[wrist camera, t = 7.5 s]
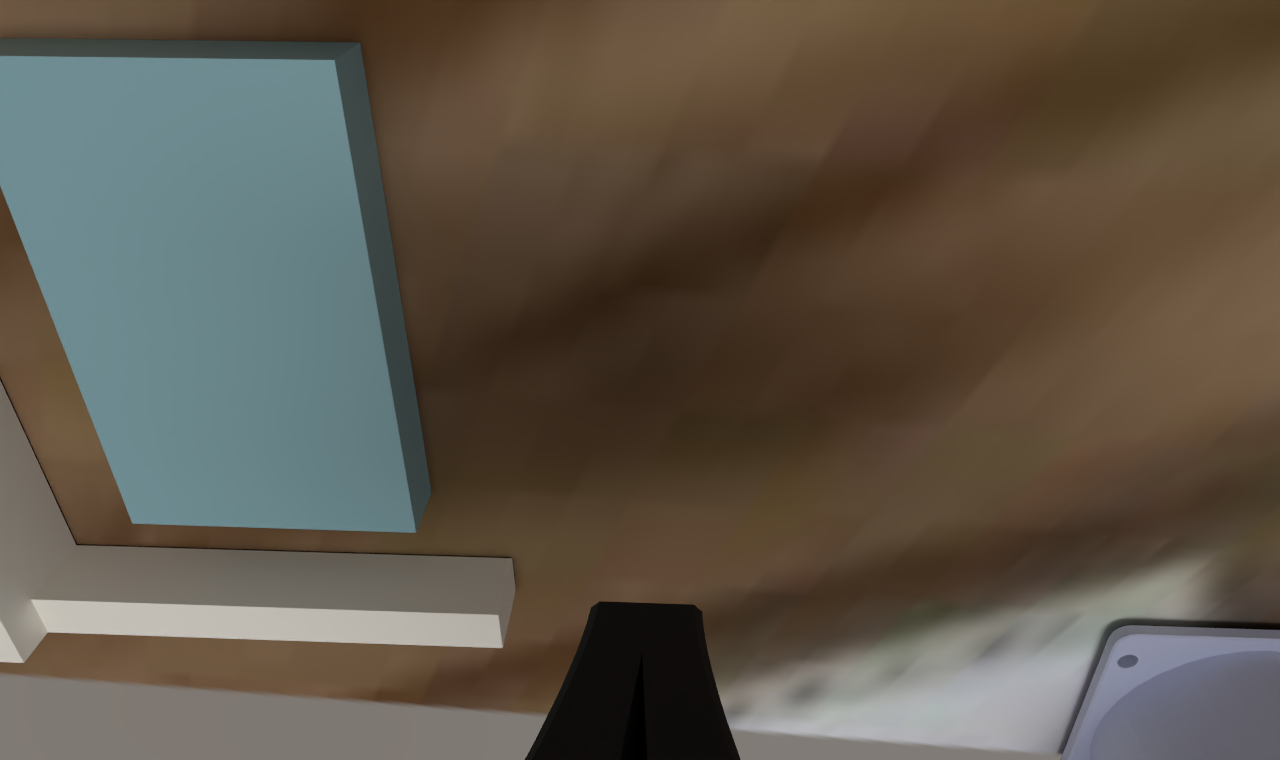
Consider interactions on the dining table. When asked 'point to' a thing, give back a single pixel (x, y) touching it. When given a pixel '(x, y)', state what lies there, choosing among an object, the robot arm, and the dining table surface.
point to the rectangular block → (220, 275)
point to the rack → (224, 583)
